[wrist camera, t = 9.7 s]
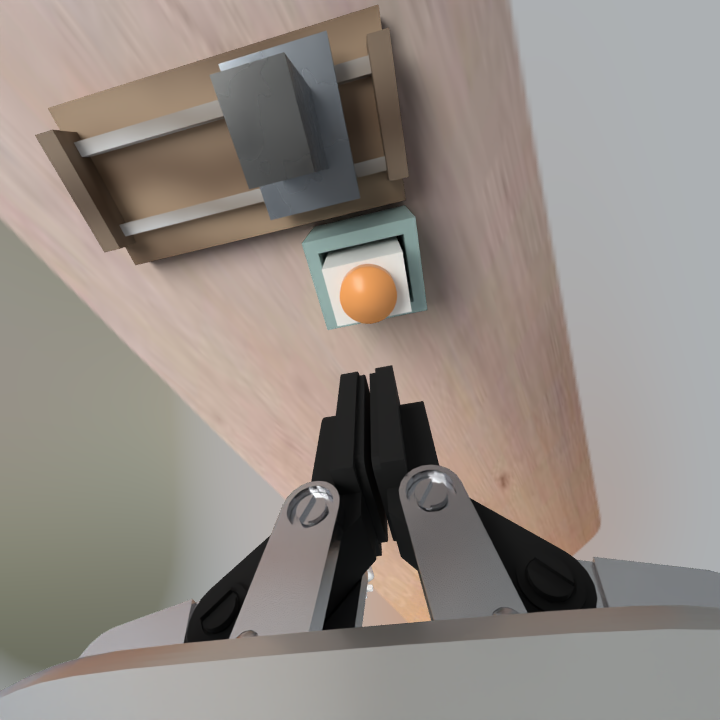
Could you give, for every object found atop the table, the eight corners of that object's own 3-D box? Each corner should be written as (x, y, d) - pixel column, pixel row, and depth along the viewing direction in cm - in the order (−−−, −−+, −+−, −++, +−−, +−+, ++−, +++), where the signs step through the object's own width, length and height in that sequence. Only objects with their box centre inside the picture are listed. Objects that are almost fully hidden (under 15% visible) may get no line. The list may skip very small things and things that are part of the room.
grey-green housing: (314, 226, 26) (301, 243, 21) (404, 205, 25) (415, 217, 20) (334, 301, 29) (328, 332, 24) (415, 284, 28) (427, 312, 23)
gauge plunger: (329, 249, 23) (319, 274, 18) (395, 234, 23) (404, 256, 18) (341, 298, 25) (336, 333, 20) (403, 285, 25) (413, 318, 19)
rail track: (63, 111, 22) (16, 104, 19) (380, 13, 20) (383, -13, 17) (144, 260, 27) (116, 273, 24) (406, 197, 25) (412, 202, 22)
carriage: (226, 69, 19) (146, 16, 12) (328, 38, 18) (306, -38, 11) (274, 217, 23) (235, 243, 16) (360, 196, 22) (358, 213, 15)
